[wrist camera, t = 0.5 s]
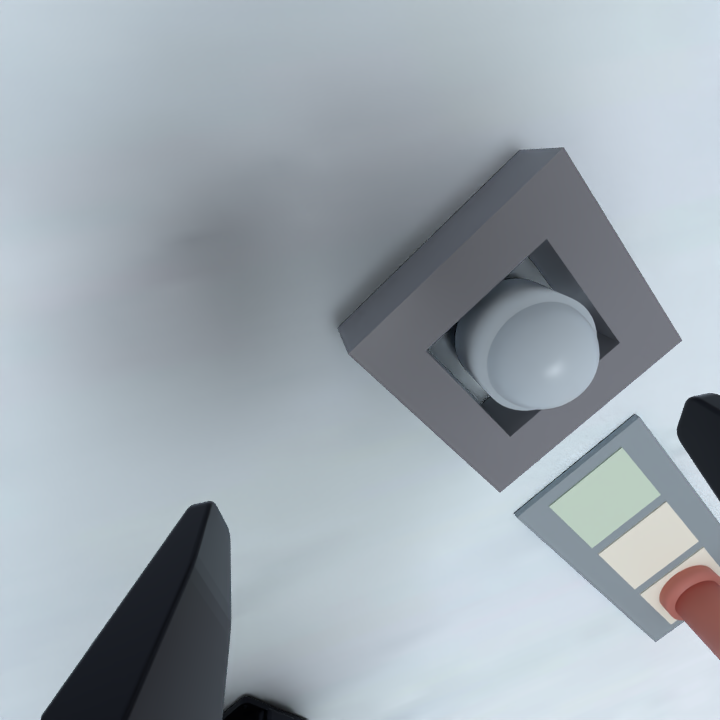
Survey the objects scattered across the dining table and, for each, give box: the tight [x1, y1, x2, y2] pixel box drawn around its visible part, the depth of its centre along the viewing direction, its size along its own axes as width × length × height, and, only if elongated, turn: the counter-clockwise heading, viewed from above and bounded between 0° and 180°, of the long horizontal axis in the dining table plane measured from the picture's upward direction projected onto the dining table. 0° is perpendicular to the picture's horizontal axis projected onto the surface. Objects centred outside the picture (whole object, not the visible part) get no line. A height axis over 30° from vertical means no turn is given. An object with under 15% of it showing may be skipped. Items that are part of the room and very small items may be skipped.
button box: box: [338, 147, 682, 492], centre depth 23 cm, size 12×12×4 cm
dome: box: [455, 279, 600, 411], centre depth 21 cm, size 6×6×5 cm
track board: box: [514, 414, 720, 642], centre depth 34 cm, size 10×22×1 cm, turn 43°
